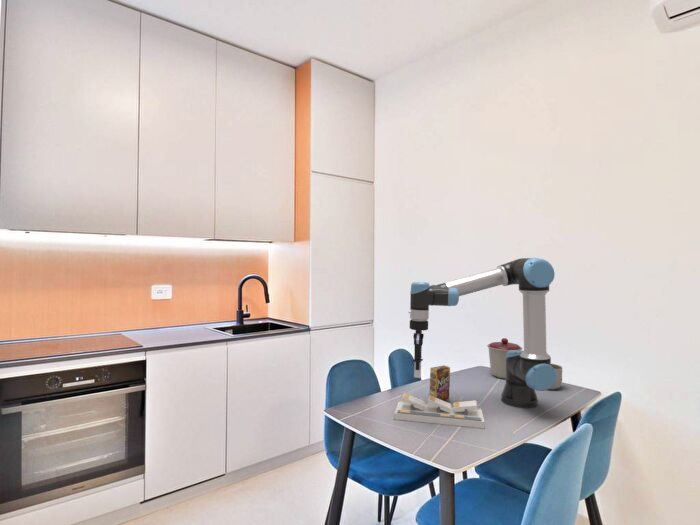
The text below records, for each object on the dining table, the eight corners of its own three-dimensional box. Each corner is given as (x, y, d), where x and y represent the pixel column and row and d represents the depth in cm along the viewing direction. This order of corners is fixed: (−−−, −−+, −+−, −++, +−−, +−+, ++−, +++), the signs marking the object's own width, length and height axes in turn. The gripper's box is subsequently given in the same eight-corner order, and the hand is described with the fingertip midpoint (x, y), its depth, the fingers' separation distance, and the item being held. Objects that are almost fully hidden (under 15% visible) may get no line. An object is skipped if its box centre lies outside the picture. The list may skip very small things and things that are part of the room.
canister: (518, 383, 213) (518, 342, 213) (483, 377, 223) (483, 338, 223) (524, 375, 228) (525, 337, 228) (491, 370, 238) (492, 334, 238)
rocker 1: (423, 405, 171) (425, 400, 171) (422, 411, 165) (424, 406, 164) (402, 396, 173) (404, 392, 173) (401, 402, 167) (402, 397, 166)
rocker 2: (449, 407, 169) (450, 402, 169) (449, 413, 162) (451, 408, 162) (428, 399, 171) (429, 394, 171) (427, 404, 164) (429, 399, 164)
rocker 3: (476, 404, 166) (475, 399, 167) (478, 411, 160) (477, 405, 160) (454, 406, 168) (453, 401, 169) (454, 413, 162) (453, 407, 162)
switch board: (481, 415, 168) (481, 405, 168) (484, 428, 155) (484, 418, 155) (398, 407, 176) (398, 398, 176) (394, 419, 163) (394, 409, 163)
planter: (563, 386, 209) (563, 365, 209) (560, 393, 198) (561, 370, 198) (536, 382, 215) (536, 361, 215) (532, 388, 205) (533, 366, 205)
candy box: (435, 404, 181) (436, 369, 181) (428, 401, 184) (429, 367, 184) (450, 400, 186) (450, 366, 186) (442, 397, 189) (443, 364, 189)
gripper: (411, 317, 175) (409, 372, 175) (408, 321, 163) (406, 380, 163) (428, 318, 174) (427, 373, 174) (427, 322, 161) (426, 382, 161)
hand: (417, 377), depth 168 cm, fingers closed
